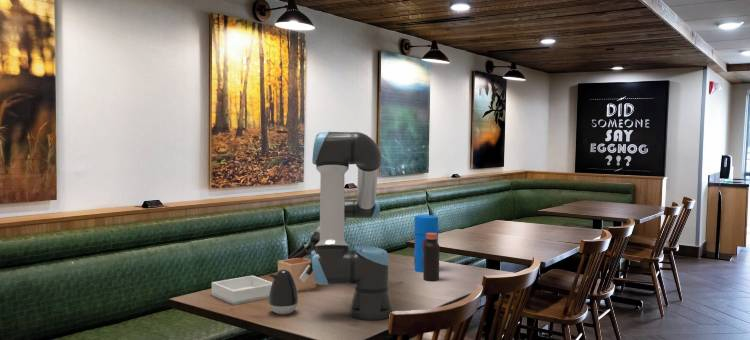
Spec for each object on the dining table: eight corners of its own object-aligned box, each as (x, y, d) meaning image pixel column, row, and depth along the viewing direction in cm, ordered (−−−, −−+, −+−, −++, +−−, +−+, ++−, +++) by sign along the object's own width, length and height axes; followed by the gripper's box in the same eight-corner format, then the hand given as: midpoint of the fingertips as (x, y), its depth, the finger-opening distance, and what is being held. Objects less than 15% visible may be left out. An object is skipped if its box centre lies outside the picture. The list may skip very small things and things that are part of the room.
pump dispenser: (263, 311, 210) (263, 268, 209) (289, 306, 216) (289, 265, 215) (276, 318, 202) (275, 274, 201) (303, 313, 208) (303, 270, 207)
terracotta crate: (316, 287, 243) (316, 261, 243) (291, 292, 235) (291, 265, 235) (302, 283, 251) (302, 257, 250) (277, 287, 243) (277, 261, 242)
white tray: (276, 296, 229) (276, 283, 229) (233, 305, 218) (233, 291, 217) (252, 287, 243) (252, 275, 243) (211, 295, 231) (211, 282, 231)
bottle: (431, 282, 253) (431, 235, 252) (420, 279, 258) (420, 233, 257) (442, 279, 258) (442, 233, 257) (430, 276, 263) (431, 231, 262)
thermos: (442, 270, 276) (442, 216, 275) (428, 273, 269) (428, 218, 267) (423, 266, 284) (424, 214, 282) (409, 270, 276) (409, 216, 275)
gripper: (345, 246, 243) (315, 288, 234) (310, 238, 261) (281, 277, 252) (335, 234, 239) (304, 277, 230) (300, 227, 258) (270, 266, 249)
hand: (292, 277), depth 241 cm, fingers open, 13 cm apart
